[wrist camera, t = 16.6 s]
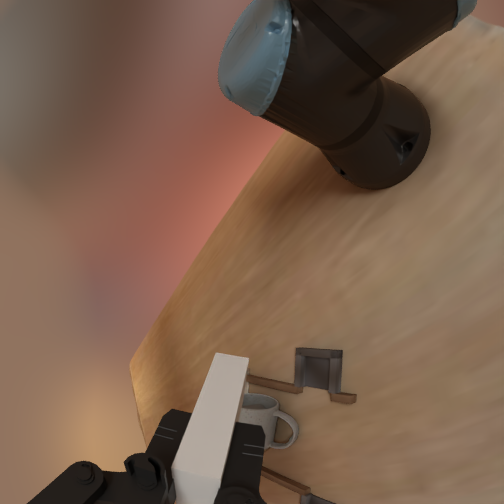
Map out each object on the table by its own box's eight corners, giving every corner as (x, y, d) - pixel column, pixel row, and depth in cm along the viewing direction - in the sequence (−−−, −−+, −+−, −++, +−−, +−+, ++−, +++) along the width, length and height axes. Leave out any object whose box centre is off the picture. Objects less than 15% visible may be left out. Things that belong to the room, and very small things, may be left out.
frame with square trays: (245, 341, 53) (231, 342, 51) (362, 351, 35) (348, 353, 33) (240, 483, 47) (227, 487, 45) (339, 533, 29) (325, 542, 27)
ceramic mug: (252, 433, 47) (213, 441, 42) (256, 390, 48) (217, 395, 44) (298, 456, 39) (258, 470, 34) (305, 408, 40) (264, 418, 35)
